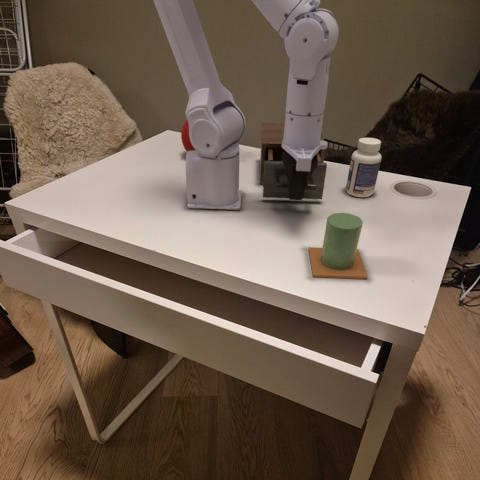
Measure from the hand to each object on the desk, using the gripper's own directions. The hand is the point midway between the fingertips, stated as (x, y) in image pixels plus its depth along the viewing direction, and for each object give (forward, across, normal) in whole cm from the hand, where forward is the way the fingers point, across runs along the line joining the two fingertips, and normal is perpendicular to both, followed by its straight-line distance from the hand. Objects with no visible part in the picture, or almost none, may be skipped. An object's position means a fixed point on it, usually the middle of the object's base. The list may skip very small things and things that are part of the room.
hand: (295, 198), depth 71 cm
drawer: (+3, +10, 0) cm, 10 cm away
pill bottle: (+4, +12, -14) cm, 18 cm away
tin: (+3, -15, -6) cm, 16 cm away
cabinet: (+3, +21, 0) cm, 21 cm away
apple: (+4, +30, +20) cm, 36 cm away
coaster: (+3, -15, -6) cm, 16 cm away
